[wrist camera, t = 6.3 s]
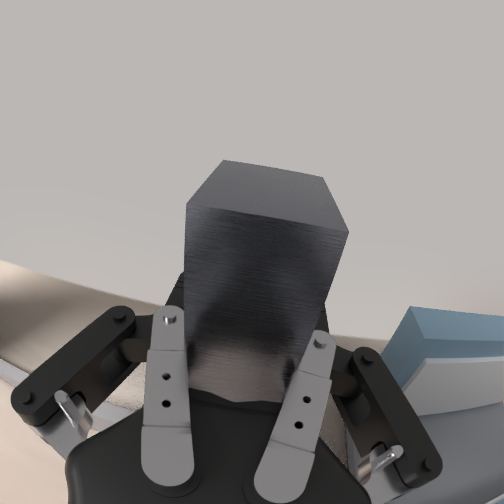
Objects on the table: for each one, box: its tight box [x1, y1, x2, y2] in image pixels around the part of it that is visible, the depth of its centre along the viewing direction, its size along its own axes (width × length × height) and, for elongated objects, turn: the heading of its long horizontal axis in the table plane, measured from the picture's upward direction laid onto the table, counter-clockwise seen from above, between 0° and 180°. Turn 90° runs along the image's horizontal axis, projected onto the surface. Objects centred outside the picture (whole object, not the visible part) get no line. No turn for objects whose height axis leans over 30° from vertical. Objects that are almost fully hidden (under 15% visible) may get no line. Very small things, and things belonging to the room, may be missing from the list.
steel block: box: [184, 160, 349, 403], centre depth 13 cm, size 4×5×15 cm
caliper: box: [0, 359, 144, 432], centre depth 12 cm, size 20×1×6 cm, turn 82°
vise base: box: [345, 306, 504, 504], centre depth 10 cm, size 17×16×9 cm
